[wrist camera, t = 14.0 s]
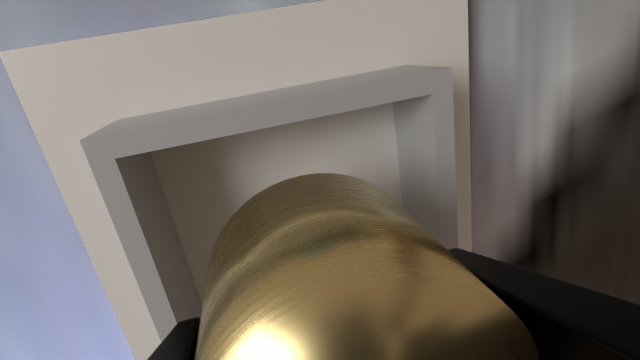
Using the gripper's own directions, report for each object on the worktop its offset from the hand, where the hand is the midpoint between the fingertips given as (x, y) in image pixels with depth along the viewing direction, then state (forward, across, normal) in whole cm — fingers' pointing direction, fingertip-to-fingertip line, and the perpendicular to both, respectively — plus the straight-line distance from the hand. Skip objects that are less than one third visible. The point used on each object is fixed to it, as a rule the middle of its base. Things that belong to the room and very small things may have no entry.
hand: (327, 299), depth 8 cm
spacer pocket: (+5, 0, 0) cm, 5 cm away
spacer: (+1, 0, 0) cm, 1 cm away
